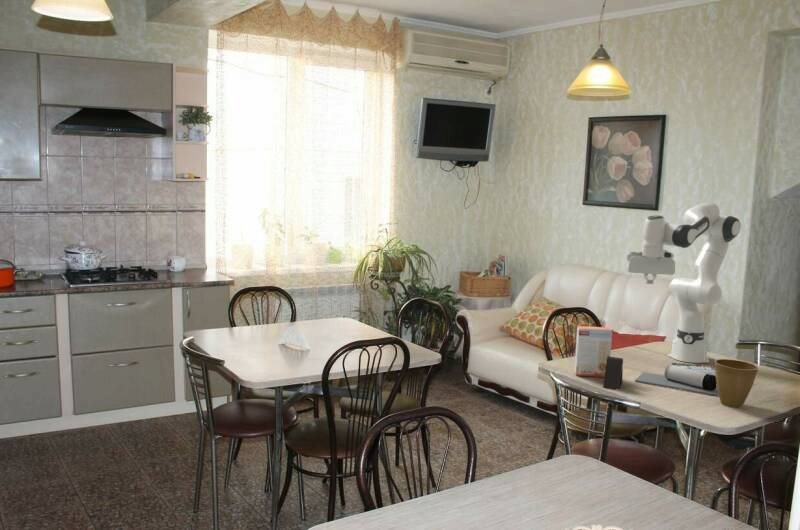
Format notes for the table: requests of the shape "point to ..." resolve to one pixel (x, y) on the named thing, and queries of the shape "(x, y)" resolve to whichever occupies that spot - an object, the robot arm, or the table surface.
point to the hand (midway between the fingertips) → (649, 283)
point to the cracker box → (592, 350)
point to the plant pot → (734, 381)
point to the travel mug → (690, 377)
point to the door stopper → (613, 373)
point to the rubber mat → (672, 383)
